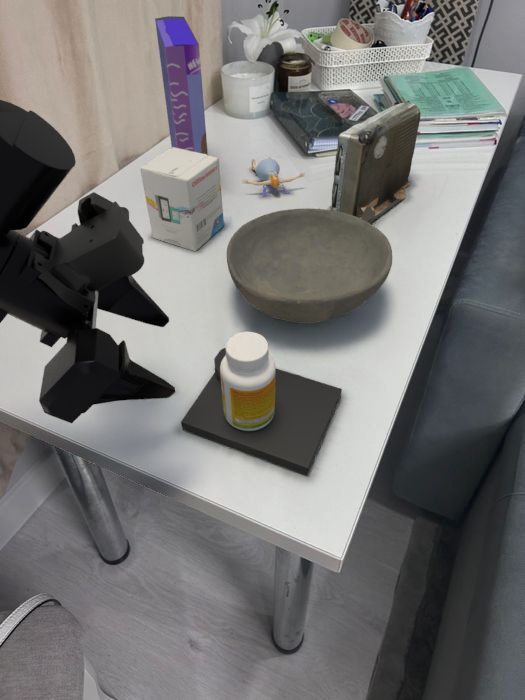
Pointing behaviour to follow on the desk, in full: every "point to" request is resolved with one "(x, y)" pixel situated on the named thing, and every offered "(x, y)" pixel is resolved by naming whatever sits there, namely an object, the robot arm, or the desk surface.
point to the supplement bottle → (248, 382)
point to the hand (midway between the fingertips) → (169, 355)
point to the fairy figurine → (269, 175)
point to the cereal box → (182, 83)
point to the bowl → (308, 263)
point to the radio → (375, 162)
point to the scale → (283, 430)
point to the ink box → (183, 197)
